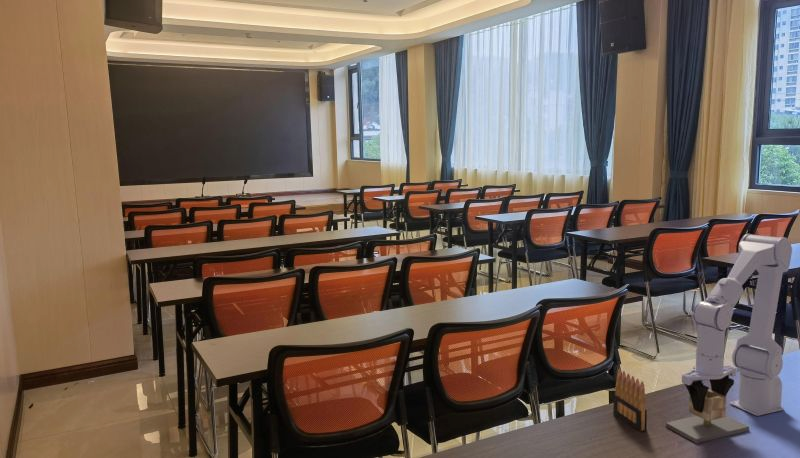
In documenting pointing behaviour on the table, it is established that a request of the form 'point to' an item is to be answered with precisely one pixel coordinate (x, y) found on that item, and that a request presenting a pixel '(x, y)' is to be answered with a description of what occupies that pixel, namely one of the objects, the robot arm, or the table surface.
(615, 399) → the ammunition clip
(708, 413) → the bead
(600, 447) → the table surface
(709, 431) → the grey peg stand
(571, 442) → the table surface
